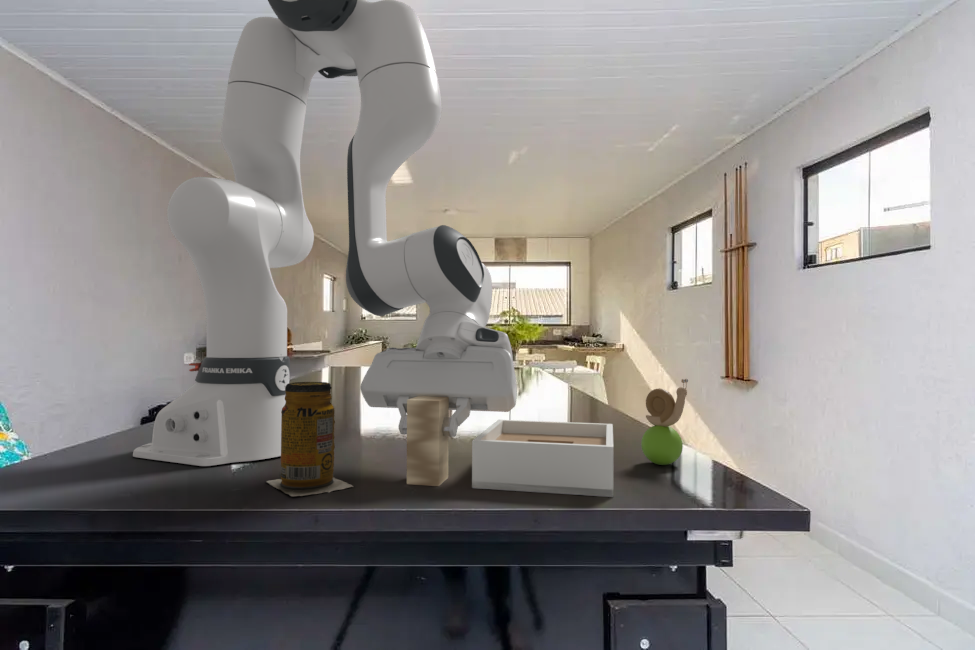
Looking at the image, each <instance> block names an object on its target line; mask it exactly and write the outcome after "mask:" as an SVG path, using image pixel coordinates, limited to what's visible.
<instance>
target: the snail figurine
mask: <svg viewBox="0 0 975 650" xmlns="http://www.w3.org/2000/svg"><path fill="white" fill-rule="evenodd" d="M680 381H681V383H682V386H679V387H678V388H677V389H676V391H675V393H676V399H675V398H674V396H673V395H672V394H671V392H669V391H668V390H667V389H663V388H655V389H652V390H651V391H650V392H648V394H647V395H646V399H645V408H646V410H647V412H648V413H649V414H650V415H649V414H645V418H646V421H648V422H649V423H650V425H652V426H650V427H649V428H648V429H646V431H645V432H644V433H643V435H642V438H641V443H640V444H641V445H640V446H641V451H642V453H643V455H644V456H645V458H647V460H648V461H650V462H652V463H654V464H655V465H660V466H668V465H671V464H673V463H674V462H676V461H677V460H678V459H679V458H680V456H681V454H682V453H683V440H682V437H681V436H680V434H679V433H678V431H677V430H676V429H675V428H673V427H671V426H673V425H675V424H676V423H678V422H679V421H680V419H681V417H682V414H683V411H684V407H685V402H686V397H687V396H688V389H687V384H688V382H689V380H688V379H687V378H682V379H681V380H680Z"/></svg>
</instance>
